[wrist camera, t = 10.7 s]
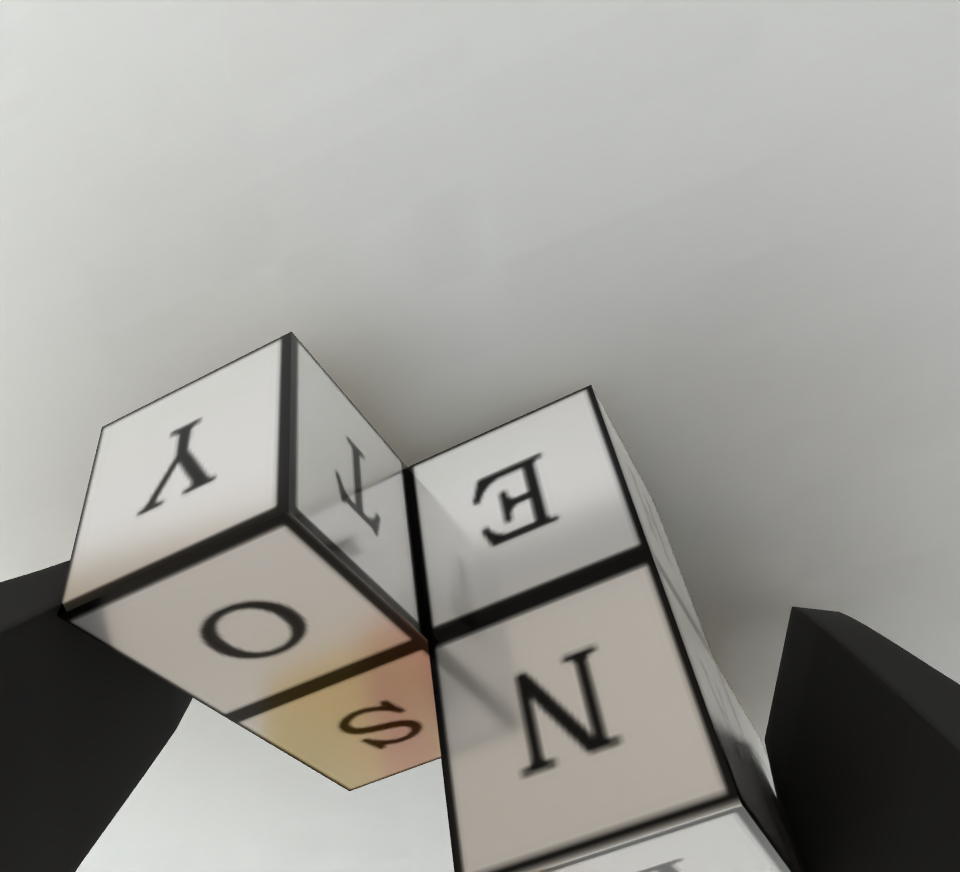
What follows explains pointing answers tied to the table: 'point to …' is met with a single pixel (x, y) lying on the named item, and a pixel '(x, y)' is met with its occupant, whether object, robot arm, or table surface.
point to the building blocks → (429, 617)
